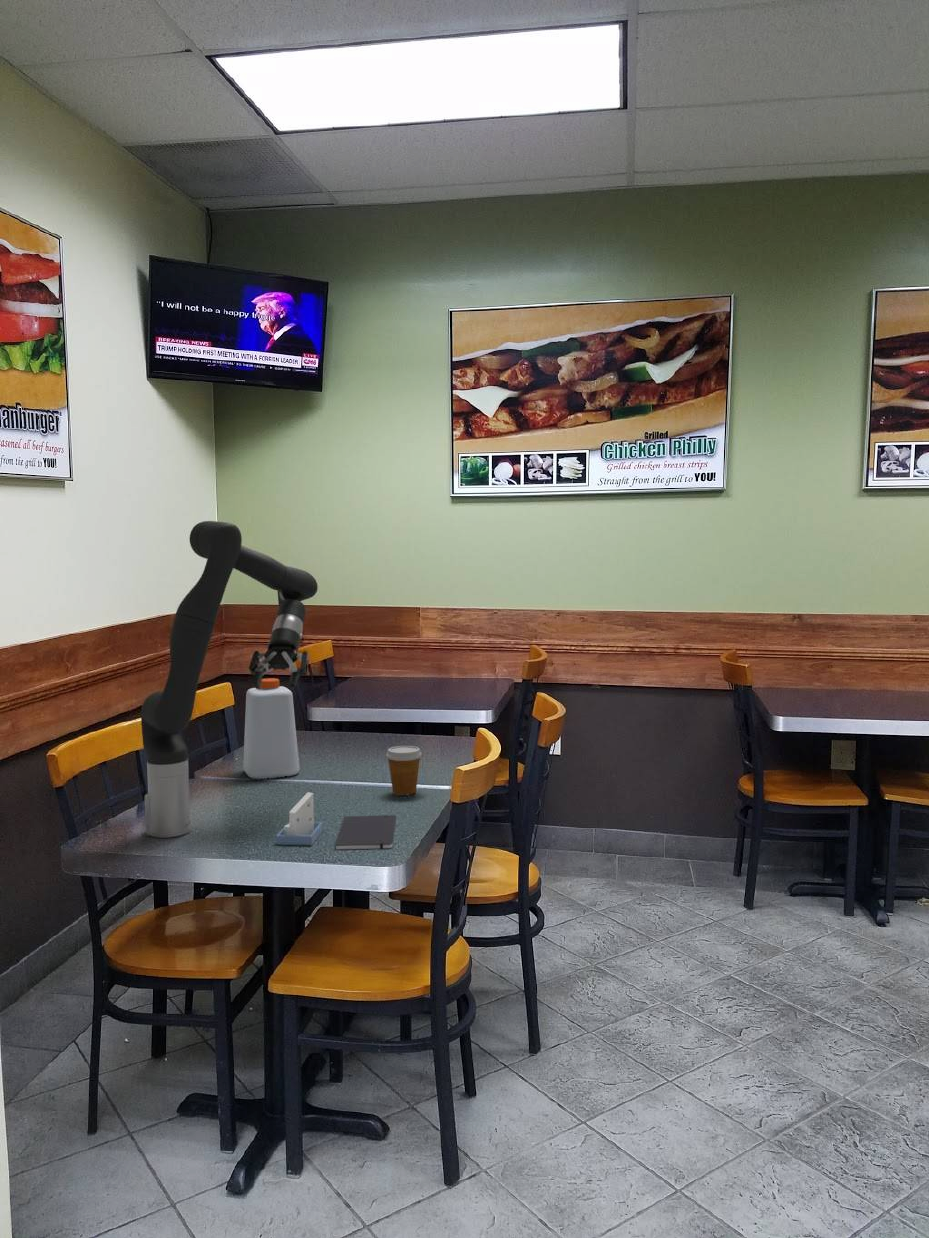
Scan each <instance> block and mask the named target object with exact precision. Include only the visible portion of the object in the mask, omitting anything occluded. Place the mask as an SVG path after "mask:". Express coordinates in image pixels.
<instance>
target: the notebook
mask: <svg viewBox="0 0 929 1238" xmlns="http://www.w3.org/2000/svg"><path fill="white" fill-rule="evenodd" d="M396 819H397V816H396V815H394V814H393V815H388V814H385V815H353V816H352V815H350V816H344V817H343V820H342V823H341V826H340V828H339V832H338V834H337V838H336V841H335V844H334V850H362V849H364V850H367V849H370V850H371V849H373V850H374V849H379V850H382V849H391V848H393V843H394V836H395V828H396V822H397V821H396ZM395 821H396V822H395Z"/></svg>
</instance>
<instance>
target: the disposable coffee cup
mask: <svg viewBox="0 0 929 1238" xmlns="http://www.w3.org/2000/svg"><path fill="white" fill-rule="evenodd" d="M421 756H422V752H421V749H420V748H419V747H418V746H414V745H397V746H392V747H390V748H388V749H387V752H386V757H387V760H388V768H389V774H390V781H391V790H392V794H393V793H395V794H399V795H407V794H413V793H415V792H416V793H417V787H418V785H417V784H418V777H419V769H420V759H421ZM416 793H415V794H416ZM395 794H394V795H395ZM399 795H398V796H399ZM413 795H414V794H413Z"/></svg>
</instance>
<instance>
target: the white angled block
mask: <svg viewBox="0 0 929 1238" xmlns="http://www.w3.org/2000/svg"><path fill="white" fill-rule="evenodd" d="M314 808H315V805H314V793H313V792H309V791H307V792H306V793H305V795H304V796H303V797H302V798H301V799H300V800H298V802H297V803H296V804H295V805H294V806H293V807H292V809H290V810H289V812H288V815H289V818H288V819H289V821H288V822H290V824H288V825H284V826H283V828H284V833H285V835H304V836H310V835H311V834H312V832H313V831H314V822H315V816H314V815H315V813H314V812H315V810H314Z"/></svg>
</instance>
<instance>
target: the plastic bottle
mask: <svg viewBox="0 0 929 1238" xmlns="http://www.w3.org/2000/svg"><path fill="white" fill-rule="evenodd" d="M245 696H246V697H245V714H244V715H245V716H244V717H245V719H244V738H243V739H244V740H243V763H242V764H243V765H242V769H243V771H244V773H246V775H247V776H248V777H249V778H250V779H253V780H267V778H269V779H276V778H277V777H278V778H286V777H285V776H287V777H292V776H295V775H297V774H298V773H299V772H300V760H299V752H298V751H299V748H298V741H297V728H296V727H297V726H296V718H295V707H294V697H293V696H294V695H293V692H292V691H291V689H290V688H289V689H288V688H287V687H285V686H283V685H282V686H280V679H279V678H273V677H272V678H270V677H269V678H262V681H261V685H260V689H256V687H252V688H249V689H248V690H247V691H246V695H245Z"/></svg>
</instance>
